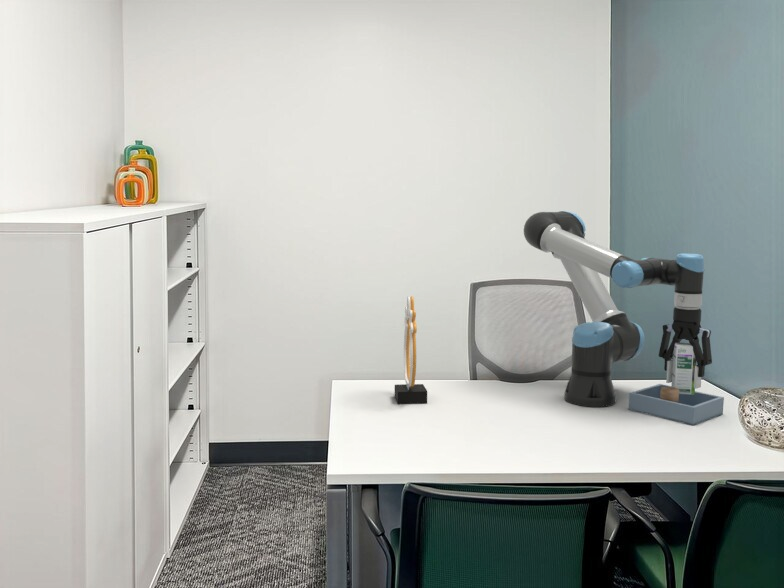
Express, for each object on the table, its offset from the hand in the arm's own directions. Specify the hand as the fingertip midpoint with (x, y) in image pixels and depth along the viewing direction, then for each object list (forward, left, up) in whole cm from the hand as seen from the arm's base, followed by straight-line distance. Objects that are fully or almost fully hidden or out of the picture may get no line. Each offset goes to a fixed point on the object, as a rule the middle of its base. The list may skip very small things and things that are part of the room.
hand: (683, 384), depth 225 cm
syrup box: (0, 0, -2) cm, 2 cm away
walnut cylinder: (0, -8, -7) cm, 10 cm away
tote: (0, -3, -8) cm, 8 cm away
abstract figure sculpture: (-58, -54, -8) cm, 80 cm away
